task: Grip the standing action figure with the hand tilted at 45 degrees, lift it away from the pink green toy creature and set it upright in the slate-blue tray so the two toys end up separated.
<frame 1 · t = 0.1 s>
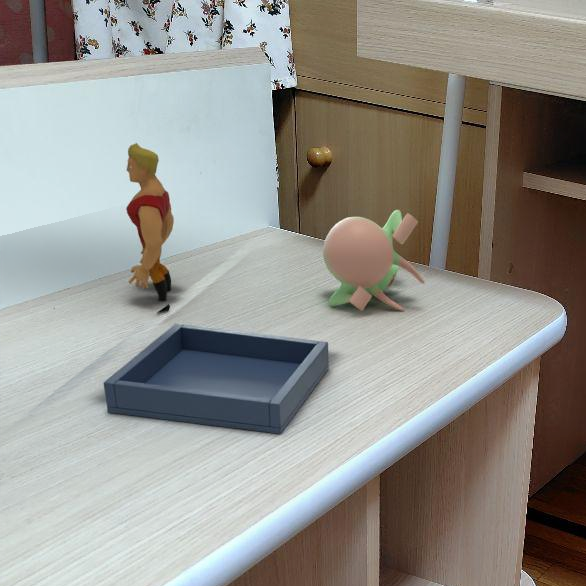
pink green toy creature: (371, 302, 104), on the table
action figure: (158, 307, 97), on the table
blue tray: (225, 389, 82), on the table
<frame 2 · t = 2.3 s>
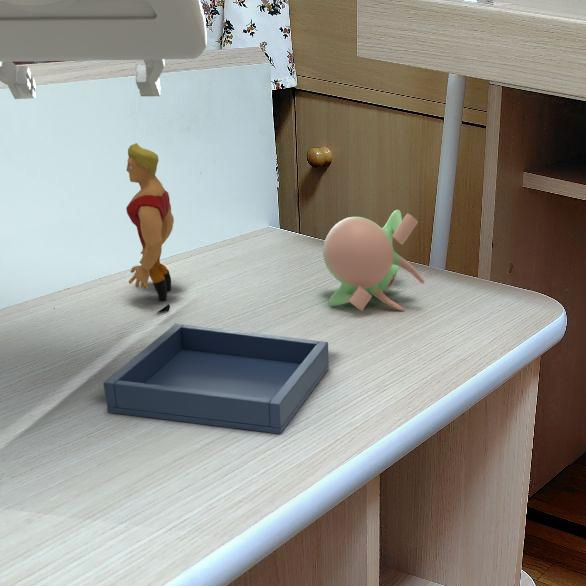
hand: (89, 91, 79), 20 cm above the table, tool tilted 40°, fingers open, 8 cm apart
nothing on the table moved.
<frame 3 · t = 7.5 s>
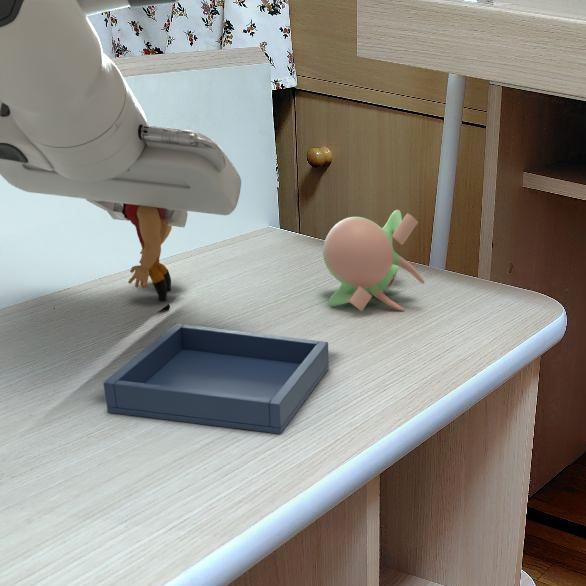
hand: (151, 216, 93), 8 cm above the table, tool tilted 45°, fingers closed on action figure, 4 cm apart
action figure: (158, 307, 97), on the table, touching gripper
everything else where it was.
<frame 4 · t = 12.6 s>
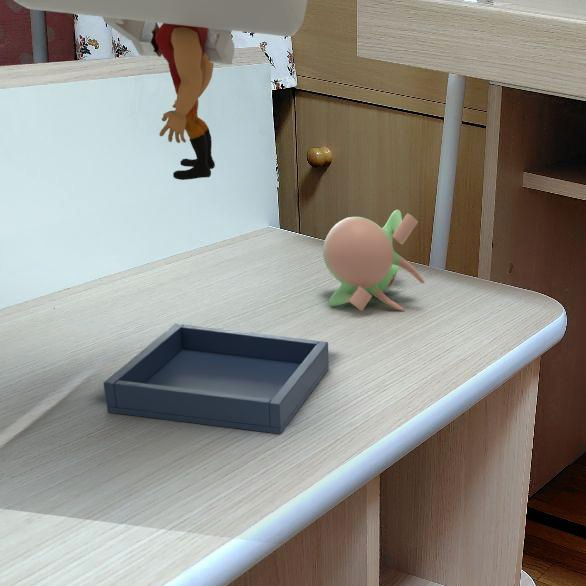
hand: (187, 52, 72), 25 cm above the table, tool tilted 45°, fingers closed on action figure, 4 cm apart
action figure: (195, 175, 76), point 16 cm above the table, touching gripper
everything else where it was.
when the fingers open (9 cm above the table, at t = 17.7 s): action figure stays where it is, resting on blue tray.
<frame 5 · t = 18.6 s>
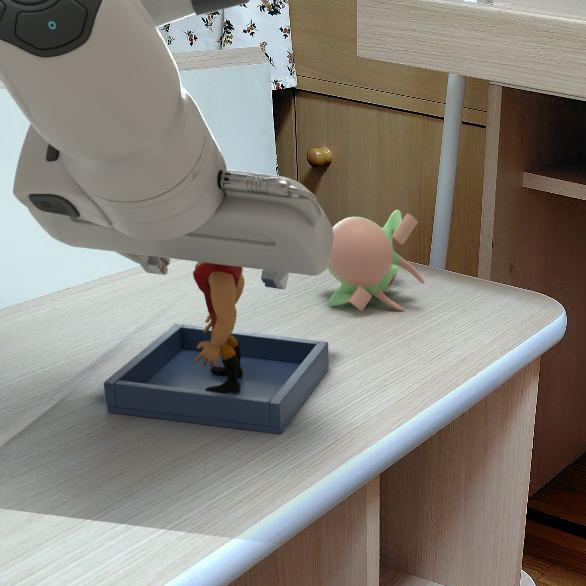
hand: (218, 273, 77), 10 cm above the table, tool tilted 45°, fingers open, 8 cm apart
action figure: (225, 385, 82), resting on blue tray
everything else where it was.
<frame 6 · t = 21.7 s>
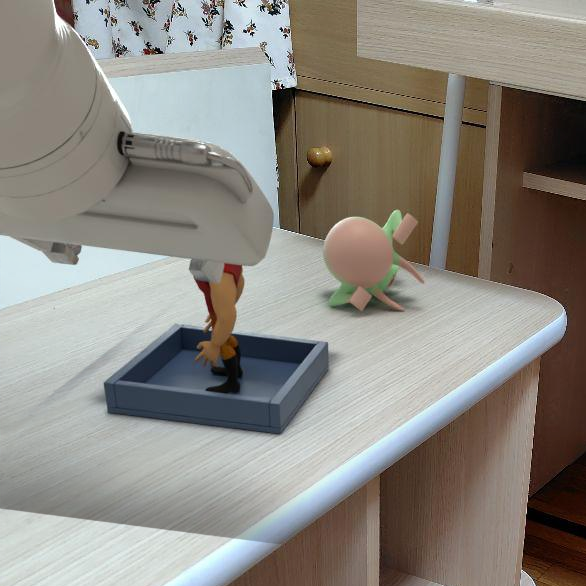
hand: (140, 263, 64), 14 cm above the table, tool tilted 45°, fingers open, 8 cm apart
nothing on the table moved.
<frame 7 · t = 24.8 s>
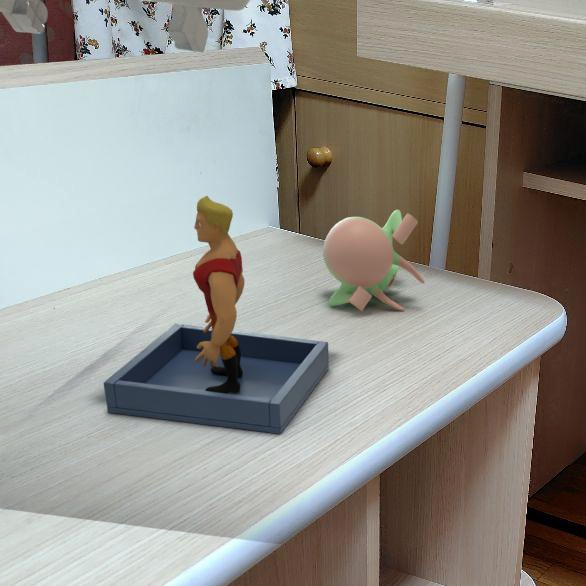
hand: (113, 32, 57), 27 cm above the table, tool tilted 45°, fingers open, 8 cm apart
nothing on the table moved.
at the end: action figure inside the target area in the blue tray (0.0 cm from its centre), point 0.3 cm above the blue tray's base; action figure tilted 0°; pink green toy creature moved 0.2 cm from its start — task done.
